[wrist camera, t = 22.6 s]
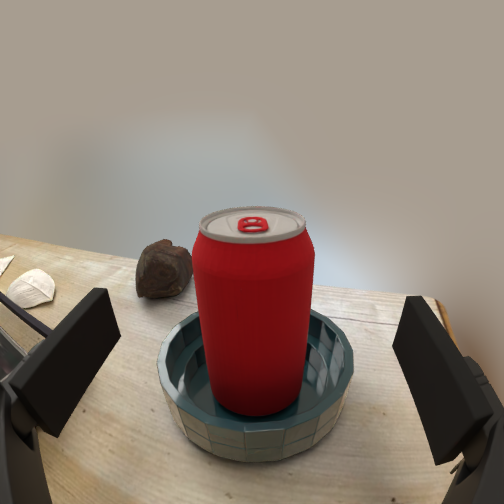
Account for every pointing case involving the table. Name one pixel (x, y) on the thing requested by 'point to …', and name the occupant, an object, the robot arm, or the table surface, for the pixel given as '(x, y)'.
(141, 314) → the table surface
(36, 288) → the pale veined leaf
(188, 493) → the table surface
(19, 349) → the radio
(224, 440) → the bowl
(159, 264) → the brown rough lump
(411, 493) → the table surface
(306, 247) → the beverage can
